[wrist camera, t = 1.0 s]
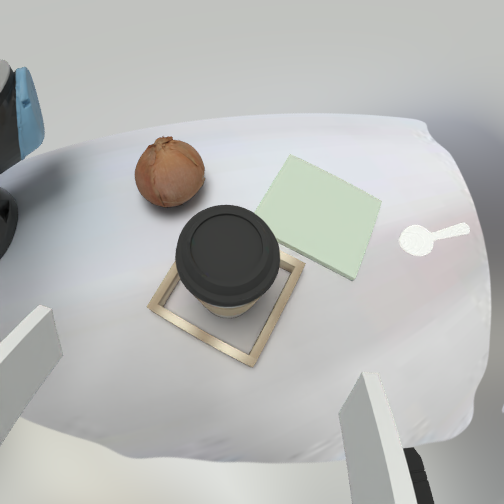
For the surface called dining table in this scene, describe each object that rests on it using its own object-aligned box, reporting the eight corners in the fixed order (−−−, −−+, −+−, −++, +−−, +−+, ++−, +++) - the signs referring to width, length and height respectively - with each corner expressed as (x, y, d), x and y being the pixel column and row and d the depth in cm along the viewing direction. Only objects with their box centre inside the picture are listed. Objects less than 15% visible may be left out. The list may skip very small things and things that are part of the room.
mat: (247, 226, 41) (247, 223, 40) (289, 158, 46) (290, 154, 45) (352, 280, 39) (355, 278, 38) (379, 204, 44) (381, 201, 43)
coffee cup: (245, 246, 40) (255, 180, 26) (276, 308, 37) (305, 271, 23) (180, 272, 38) (156, 217, 24) (208, 338, 35) (195, 319, 21)
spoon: (473, 241, 44) (474, 240, 44) (404, 261, 41) (406, 260, 41) (461, 215, 46) (463, 213, 46) (392, 229, 43) (394, 228, 43)
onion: (163, 185, 46) (144, 129, 39) (219, 182, 44) (204, 120, 37) (137, 224, 40) (110, 162, 33) (199, 223, 38) (177, 152, 31)
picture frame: (151, 311, 36) (146, 307, 34) (207, 222, 41) (206, 213, 39) (251, 367, 34) (253, 367, 32) (301, 269, 39) (305, 263, 37)
